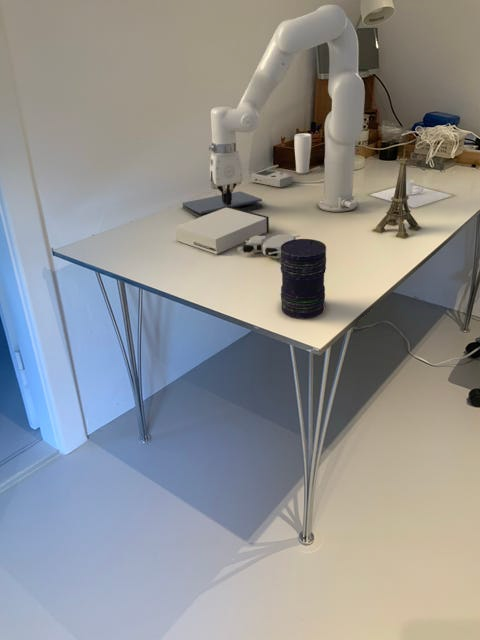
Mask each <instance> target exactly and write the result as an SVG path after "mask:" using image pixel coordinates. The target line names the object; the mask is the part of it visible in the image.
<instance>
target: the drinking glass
mask: <svg viewBox="0 0 480 640" xmlns="http://www.w3.org/2000/svg"><path fill="white" fill-rule="evenodd" d="M293 138H294V141H293V144H294V145H293V146H294V156H295V157H294V158H295V172H296V174H299V175H305V174H308V173H309V172H310V161H311V152H312V134H310V133H308V132H307V133H305V132H303V133H296V134H294V137H293Z"/></svg>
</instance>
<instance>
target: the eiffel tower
mask: <svg viewBox="0 0 480 640" xmlns="http://www.w3.org/2000/svg"><path fill="white" fill-rule="evenodd" d="M404 146H406V144H405V145H404ZM397 163H398V164H399V170H398V175H397V179H396V185H395V187H396V189H395V193H394V197H392V198H391V200H392V201H391V204H390V207H389V209H388V210H387V211H386V212H385V213H386V215H384V217H383V218H382V219H381V220H380V221H379V222H378V224H376V227H375V228H373V229H372V230H371V232H374V233H379V234H381V233H383V232H384V231H386V226H387V225H390V226H395V225H396V224H398V227H397V233H396V235H395V237H396V238H400V239H404V240H405V239H406V238H408V237H409V236H410V234H409V233H408V230H412V231H417V232H418V231H420V230H421V229H422V226H420V225H419V223H418V222H417V220H416V218H415V217H414V216H413V214H411V212H412V210H410V207H409V206H408V203H407V199H409V197H408V196H406V180H407V164H409V158H406V149H404V150H403V157H402V158H400V159H399V161H398V162H397ZM405 221H406V222H407V224H408V225H409V226H408V230H407V229H406V227H405V224H404V222H405Z"/></svg>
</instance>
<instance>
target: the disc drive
mask: <svg viewBox="0 0 480 640" xmlns="http://www.w3.org/2000/svg"><path fill="white" fill-rule="evenodd" d="M269 220H270V219H269V216H268V215H263V214H259V213H256V212H252V211H244V210H240V209H237V208H233V207H229V206H226V208H223V209H221V210H218V211H215V212H213V213H210V214H207V215H204V216H202V217H199V218H197V217H195V218H194V219H191V220H189V221H186V222H183V223H181V224H178V225H175V226H174V230H175V231H174V232H175V240H176V242H180V243H183V244H186V245H188V246H191V247H194V248H197V249H200V250H203V251H206V252H209V253H211V254H215V255H218V254H220V253H223V252H225V251H227V250H230V249H232V248H234V247H236V246H239V245H240V244H243V243H245V241H246V240H248V238H252V237H253V236H257V235H263V234H265V233H267V234H268V233H269V232H270V228H269V227H270V224H269V223H270V221H269Z"/></svg>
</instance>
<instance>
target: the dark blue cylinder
mask: <svg viewBox="0 0 480 640" xmlns="http://www.w3.org/2000/svg"><path fill="white" fill-rule="evenodd" d="M279 259H280V262H279V263H280V273H281V286H280V302H281V312H282V313H283V314H284V315H285V316H287V317H289V318H292V319H297V320H310V319H314V318H317V317H319V316H321V315H322V314H323V313H324V311H325V301H326V287H325V286H326V285H325V274H326V270H327V245H326V244H325V243H324V242H322V241H320V240H317V239H313V238H312V239H311V238H296V239H295V240H290V241H287V242H285V243H283V244H282V246H281V258H279Z"/></svg>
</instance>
